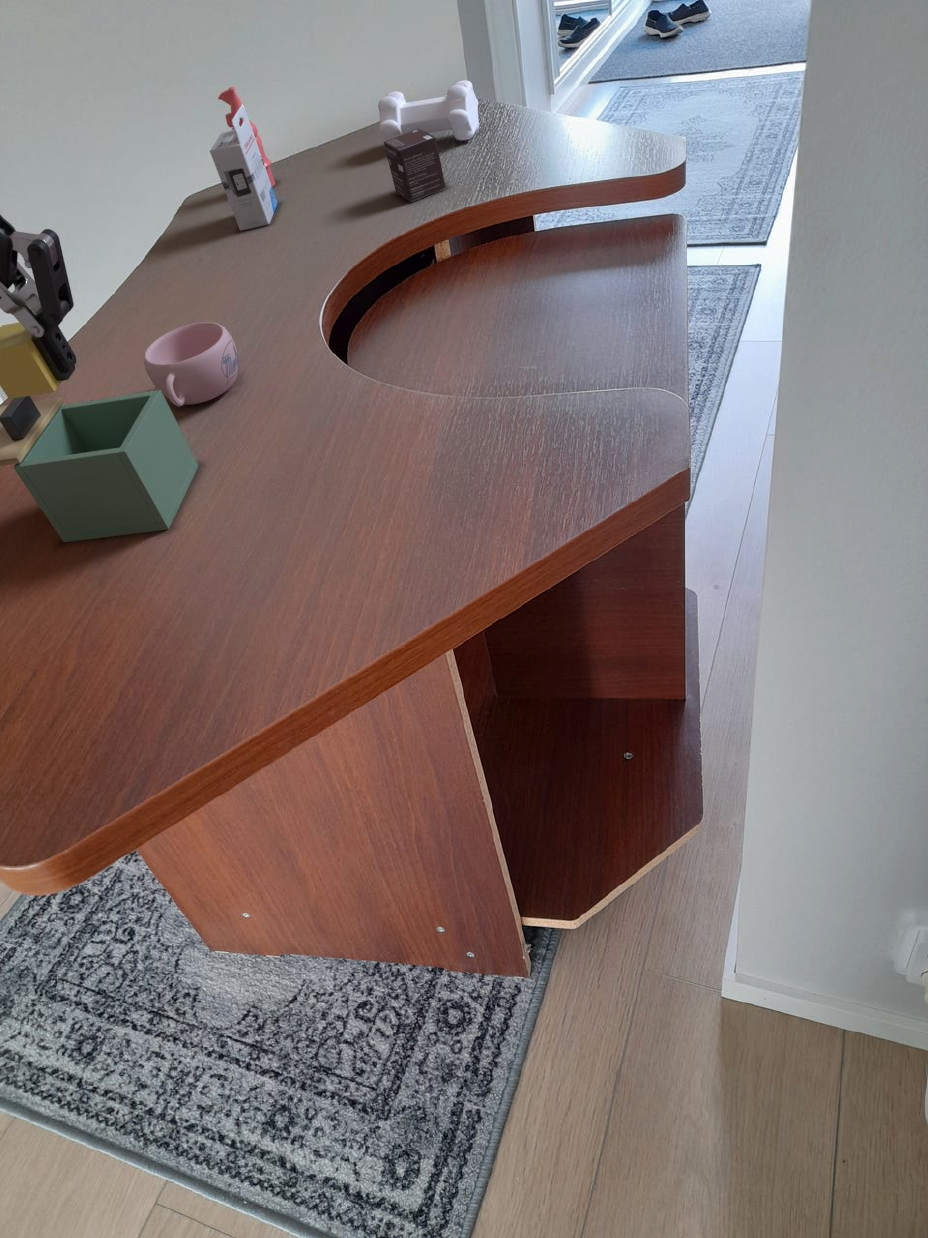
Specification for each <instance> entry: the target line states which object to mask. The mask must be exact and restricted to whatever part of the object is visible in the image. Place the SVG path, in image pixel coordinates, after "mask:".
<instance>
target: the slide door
mask: <svg viewBox="0 0 928 1238" xmlns="http://www.w3.org/2000/svg"><path fill="white" fill-rule="evenodd" d="M63 404H64V400H63V398H62V397H61V396H56V397H51V398H46V399H38V400H33V399H32V398H31V396H25V397H19V398H13V399H12V400H11V401H10V403H9V404H7V405H0V467H4V466H9V465H15V464H17V463H21V461H22V460H23V458H24V457H25V456H26V454H27V453H28V451H29V450H30V449H31V447H32V446H33V444H34V443H35V442H36V440H37V439H38V437H39V436H40V435H41V433H42V432H43V430H44V429H45V427H46V426H47V425H48V423H49V422H50V420H51V419H52V418H53V416H54V415H55V413H56V412H57V411H58V409H59V408H60V406H62V405H63Z"/></svg>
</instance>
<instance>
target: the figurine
mask: <svg viewBox="0 0 928 1238" xmlns="http://www.w3.org/2000/svg"><path fill="white" fill-rule="evenodd" d="M217 99H218V100H219V101H220V100H221V101H222V102H224V103H225V104H227V105H229V106H230V112H228V113H225V121H226V124H227V126H228V127H229V128H231V130H233V129H234V128H233V125H232V119H233V117H234V116H235V114H236V112H237V111H238V109H239V108H240V106H241V104H243V103H242V101H241V99H240V97H239V96H238V93H237V92H236V88H235V87H234V86H230V87H229V88H228V89H226V90H225V91H223V92H221V93H220V94H219V96H218V97H217ZM249 121H250V124H251V127H252V130H253V133H254V136H255V139H256V142H257V145H258V147H259V150H260V153H261V156H262V159H263V162H264V165H265V168H266V171H267V174H268V177H269V180H270V183H271V186H272V188H273V187H274V186H275V185H276V181H275V178H274V175H273V173H272V169H271V165H272V160H270V159H269V158H268V157H267V154H266V153H265V149H264V146H263V145H264V144H263V141H262V138H261V137H260V135H259V134H258V132H259V131H258V128H257V125H256V124H255V123H254V122H252V121H251V120H250V119H249ZM242 124H243V120H242V118H241V119H240V122H239V125H240V127H241V125H242Z"/></svg>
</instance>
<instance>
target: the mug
mask: <svg viewBox="0 0 928 1238" xmlns="http://www.w3.org/2000/svg"><path fill="white" fill-rule="evenodd" d="M143 365H144V368H145V372H146V374H147V376H148V377H149V379H150V381H151V383H152V385H153V386H154V387H155V388H156V390H161V391H162V393H163V395H164V397H165V398H167V399H169V400H170V402H171V403H172V404H173V405H174V406H177V407H182V406H185V405H186V406H187V405H188V406H189V405H197V404H198V405H199V404H201V403H205V402H209V401H211V400H213V399H215V398H217V397H219V396H221V395H223V394H224V393H226V392H227V391H228V390H230V389H231V387H232V386H234V384H235V382H236V380H237V377H238V375H239V355H238V350H237V346H236V343H235V341H234V339H233V337H232V335H231V334H230V332H229V331H228V330H227V328H226V327H224V326H223V325H222V324H219V323H216V322H212V321H203V322H194V323H189V324H186V325H183V326H179V327H177V328H174V329H173V330H170V331H168V332H166V333H164V334H162V335H161V336H159V337H158V338H157V339H155V340H154V341H153V342H151V344H150V345H149V346H148V347H147V348H146V350H145V352H144V355H143Z"/></svg>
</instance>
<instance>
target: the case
mask: <svg viewBox="0 0 928 1238" xmlns="http://www.w3.org/2000/svg"><path fill="white" fill-rule="evenodd" d="M180 427H181V426H180V425H179V423H178V422H177V419H176V418H175V415H174V413H173V412H172V409H171V408H170V405H169V404H168V402H167V400H166V396H165V395H163V393H162V391H161V390H158V389H156V390H151V391H145V392H139V393H132V394H126V395H120V396H114V397H109V398H108V397H107V398H99V399H94V400H88V401H82V402H76V403H69V404H68V403H67V404H62V405H61V406H60V408H59V409H58V411H57V412H56V413H55V415H54V416H53V418H52V419H51V420H50V422H49V423H48V425H47V426H46V427H45V429H44V430H43V432H42V433H41V435H40V436H39V437H38V439H37V440H36V442H35V443H34V444H33V446H32V447H31V449H30V450H29V451H28V453H27V454H26V456H25V457H24V458H23V460H22V461H21V463H17V464H14V466H13V469H14V471H15V473H16V474H17V476H18V477H19V478H20V480H21V482H22V483H23V485H24V486H25V487H26V489H27V490H28V491H29V493H30V495H31V496H32V498H33V499H34V501H35V502H36V504H37V505H38V507H39V509H40V510H41V511H42V512H43V515H44V516H45V517H46V519H47V520H48V521H49V523H50V524H51V526H52V527H53V529H54V531H55V532H56V533H57V535H58V536H59V538H60V539H61V541H62V542H63V543H70V542H71V543H72V542H78V541H86V540H87V541H88V540H94V539H103V538H110V537H119V536H127V535H135V534H143V533H151V532H158V531H167V530H170V528H171V525H172V523H173V521H174V519H175V517H176V515H177V513H178V511H179V508H180V507H181V505H182V502H183V500H184V498H185V497H186V494H187V492H188V490H189V488H190V485H191V483H192V481H193V479H194V478H195V474H196V473H197V471H198V468H199V464H198V461H197V459H196V457H195V456H194V454H193V452H192V449H191V447H190V445H189V444H188V441H187V440H186V437H185V436H184V434H183V432H182V429H181V428H180Z"/></svg>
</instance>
